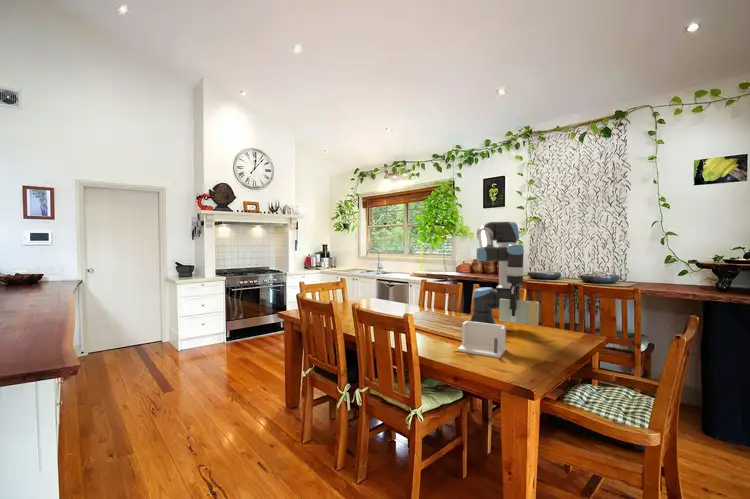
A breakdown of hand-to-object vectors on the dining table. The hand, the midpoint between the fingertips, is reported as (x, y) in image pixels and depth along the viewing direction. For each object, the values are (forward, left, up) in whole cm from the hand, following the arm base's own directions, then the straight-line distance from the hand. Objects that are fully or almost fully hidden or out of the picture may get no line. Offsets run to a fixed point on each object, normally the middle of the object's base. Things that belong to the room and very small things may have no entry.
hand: (514, 321), depth 185 cm
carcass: (+12, -13, -13) cm, 22 cm away
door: (0, +2, 0) cm, 2 cm away
